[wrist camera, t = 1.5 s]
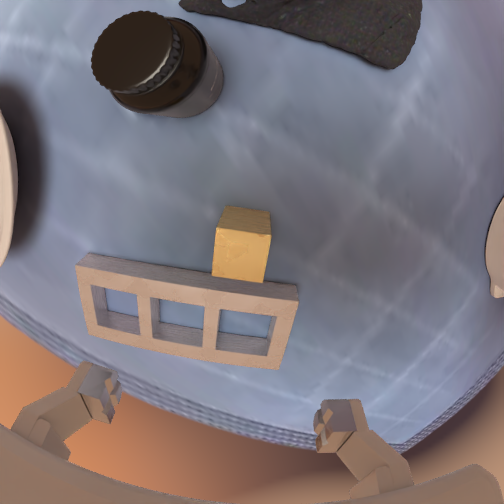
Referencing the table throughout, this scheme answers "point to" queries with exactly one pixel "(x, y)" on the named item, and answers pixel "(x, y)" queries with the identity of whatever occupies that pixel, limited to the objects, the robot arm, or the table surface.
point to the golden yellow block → (242, 244)
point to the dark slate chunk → (334, 23)
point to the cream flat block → (191, 292)
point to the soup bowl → (7, 188)
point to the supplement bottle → (157, 65)
